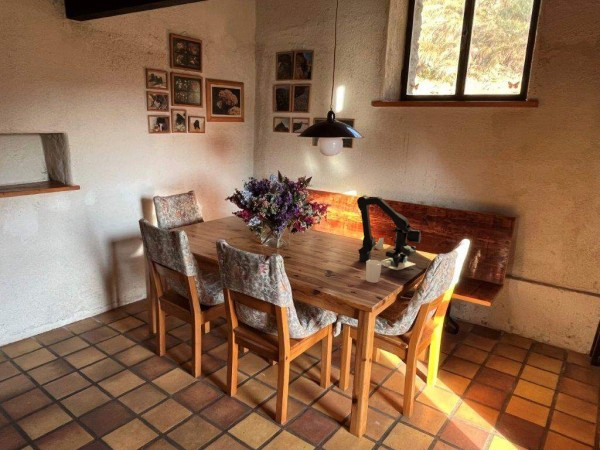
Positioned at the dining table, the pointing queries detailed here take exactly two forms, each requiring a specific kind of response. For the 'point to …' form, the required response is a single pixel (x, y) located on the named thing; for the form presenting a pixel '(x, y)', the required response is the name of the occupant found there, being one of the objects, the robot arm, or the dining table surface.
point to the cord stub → (401, 266)
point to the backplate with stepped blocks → (388, 264)
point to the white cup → (373, 270)
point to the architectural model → (380, 243)
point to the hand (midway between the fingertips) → (398, 266)
